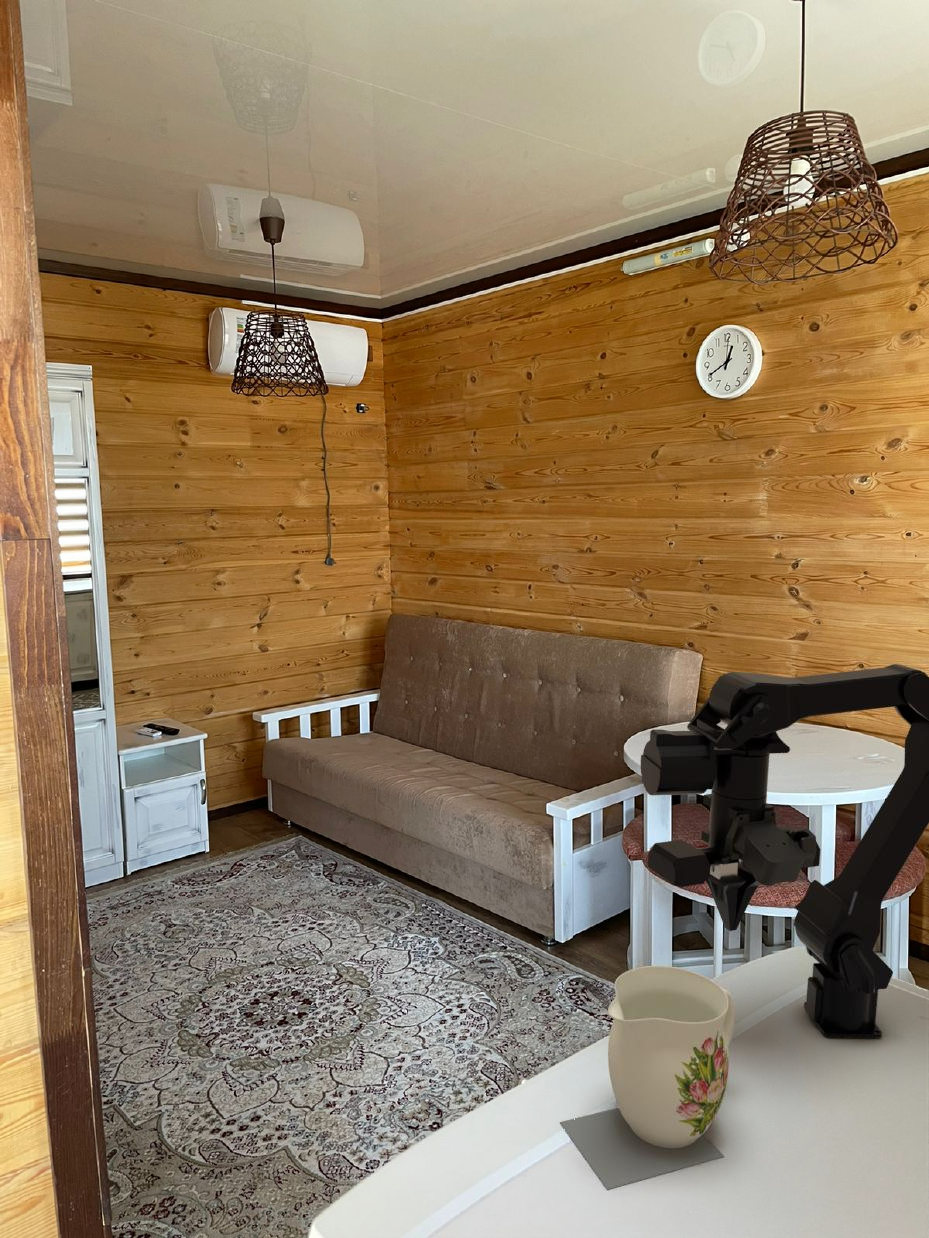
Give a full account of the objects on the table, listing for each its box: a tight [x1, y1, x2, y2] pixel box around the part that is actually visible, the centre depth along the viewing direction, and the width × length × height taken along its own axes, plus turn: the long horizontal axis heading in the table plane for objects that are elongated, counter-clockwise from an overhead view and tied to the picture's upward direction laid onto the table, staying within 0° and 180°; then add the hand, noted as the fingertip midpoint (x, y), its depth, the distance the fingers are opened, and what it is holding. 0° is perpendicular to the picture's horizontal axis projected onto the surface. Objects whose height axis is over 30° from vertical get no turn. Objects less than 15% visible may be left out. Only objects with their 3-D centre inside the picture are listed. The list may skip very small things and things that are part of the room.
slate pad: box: [559, 1107, 725, 1191], centre depth 85 cm, size 12×9×1 cm
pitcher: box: [607, 965, 736, 1148], centre depth 86 cm, size 11×18×14 cm, turn 129°
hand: (730, 929), depth 101 cm, fingers closed
